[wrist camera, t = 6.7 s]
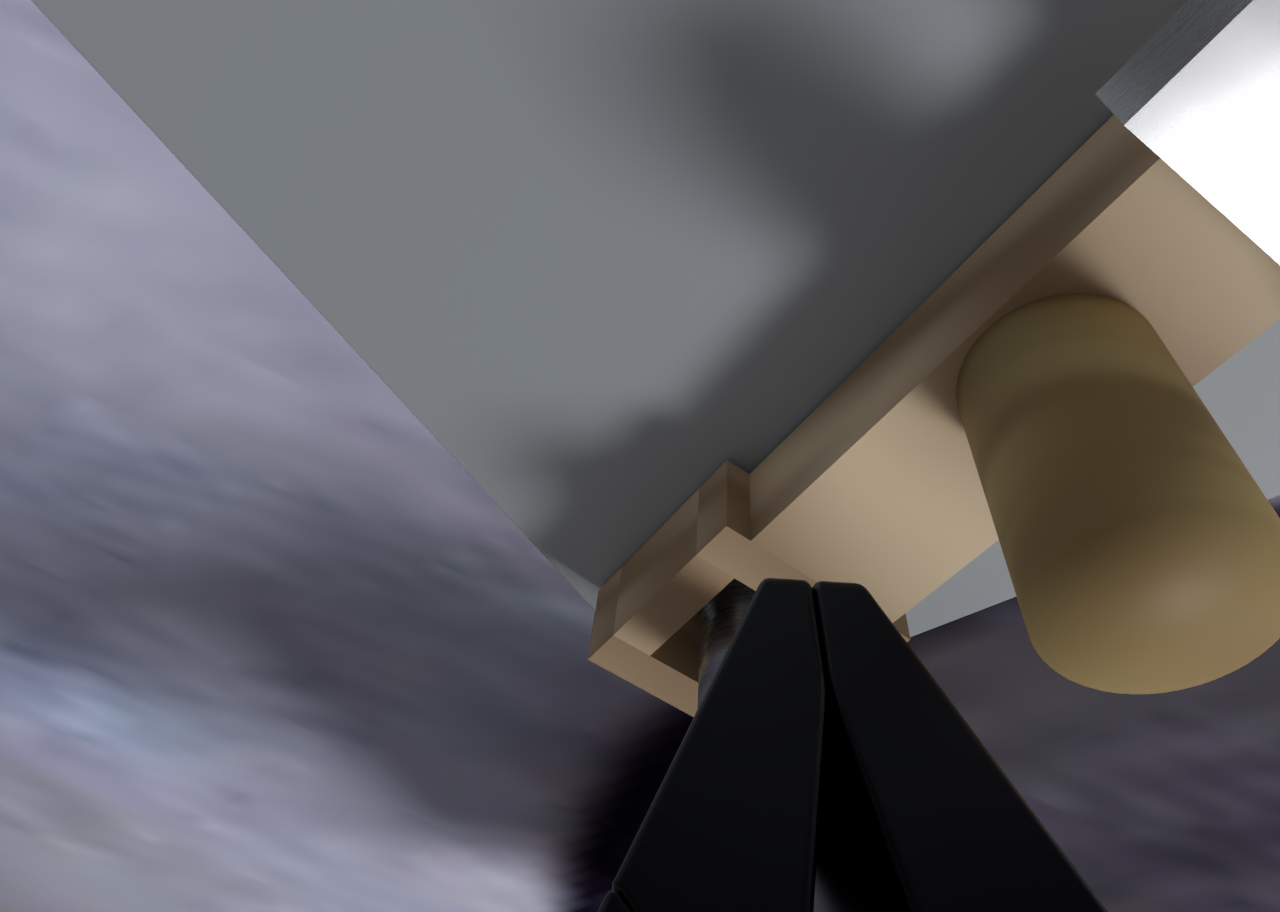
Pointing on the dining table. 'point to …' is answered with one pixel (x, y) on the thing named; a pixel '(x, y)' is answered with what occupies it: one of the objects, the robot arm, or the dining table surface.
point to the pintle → (720, 629)
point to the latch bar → (1016, 452)
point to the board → (633, 213)
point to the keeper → (1213, 107)
